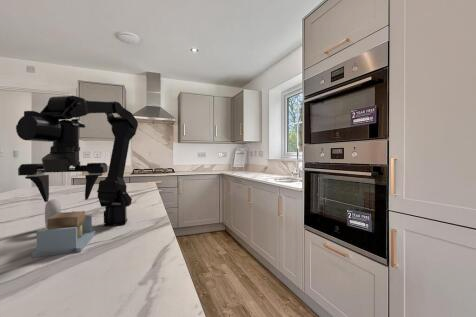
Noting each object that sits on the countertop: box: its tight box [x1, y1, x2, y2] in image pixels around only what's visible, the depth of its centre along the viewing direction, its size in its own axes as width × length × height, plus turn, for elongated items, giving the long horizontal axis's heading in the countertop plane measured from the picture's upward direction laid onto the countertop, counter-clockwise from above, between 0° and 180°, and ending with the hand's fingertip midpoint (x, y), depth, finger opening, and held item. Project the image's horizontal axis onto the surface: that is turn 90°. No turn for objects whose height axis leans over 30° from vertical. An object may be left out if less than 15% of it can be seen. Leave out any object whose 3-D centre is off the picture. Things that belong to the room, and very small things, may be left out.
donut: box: [44, 199, 62, 230], centre depth 75 cm, size 10×4×10 cm, turn 46°
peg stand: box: [31, 214, 97, 258], centre depth 63 cm, size 10×14×6 cm
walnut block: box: [47, 210, 86, 229], centre depth 63 cm, size 6×6×3 cm
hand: (66, 200), depth 63 cm, fingers open, 9 cm apart
